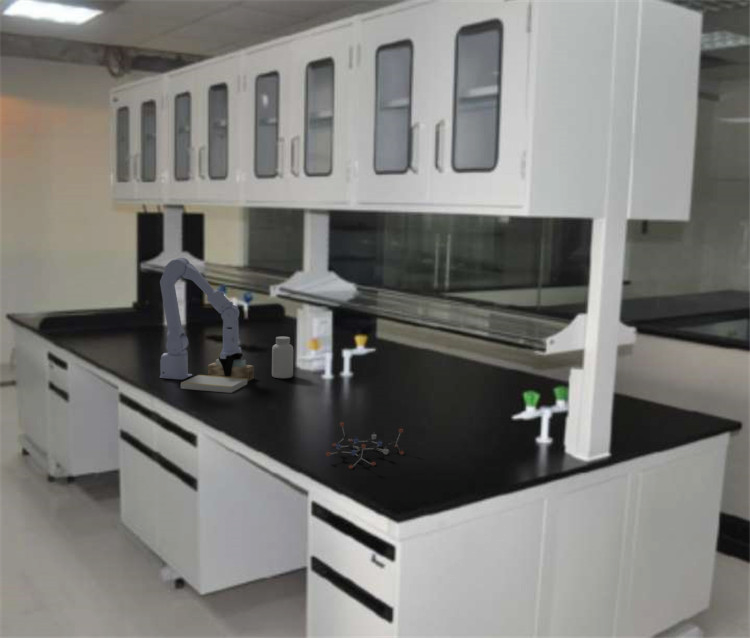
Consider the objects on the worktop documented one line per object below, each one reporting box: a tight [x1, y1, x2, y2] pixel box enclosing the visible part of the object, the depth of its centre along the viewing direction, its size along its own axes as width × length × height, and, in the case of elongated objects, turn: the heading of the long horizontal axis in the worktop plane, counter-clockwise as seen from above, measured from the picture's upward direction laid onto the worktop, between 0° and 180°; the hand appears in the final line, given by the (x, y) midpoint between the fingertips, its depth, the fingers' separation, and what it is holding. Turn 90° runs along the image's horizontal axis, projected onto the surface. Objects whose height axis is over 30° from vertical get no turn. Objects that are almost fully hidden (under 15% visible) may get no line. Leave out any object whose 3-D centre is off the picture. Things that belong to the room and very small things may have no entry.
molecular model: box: [325, 421, 405, 470], centre depth 213 cm, size 24×7×20 cm
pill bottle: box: [271, 335, 294, 379], centre depth 303 cm, size 8×8×15 cm
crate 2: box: [232, 359, 247, 367], centre depth 298 cm, size 4×4×2 cm
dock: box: [180, 374, 248, 394], centre depth 286 cm, size 19×14×2 cm
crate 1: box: [215, 358, 222, 366], centre depth 299 cm, size 4×4×2 cm
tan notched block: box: [207, 362, 255, 382], centre depth 299 cm, size 16×5×5 cm, turn 76°
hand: (230, 374), depth 299 cm, fingers closed on tan notched block, 5 cm apart
